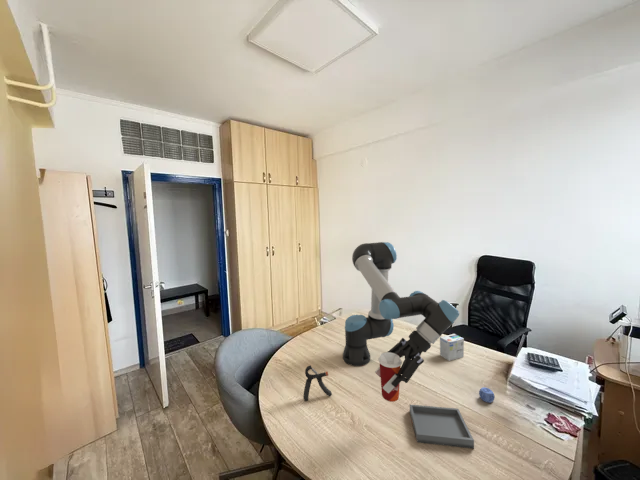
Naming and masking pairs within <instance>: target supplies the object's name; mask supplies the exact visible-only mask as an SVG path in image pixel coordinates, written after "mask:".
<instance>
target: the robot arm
mask: <svg viewBox="0 0 640 480" xmlns="http://www.w3.org/2000/svg"><path fill="white" fill-rule="evenodd" d="M397 256H398V255H397V250H396V249H395V247H394V245H393V244H392V243H391V242H386V241H378V242H370V243H369V242H368V243H362V244H359V245H357V247H355V249H354V250H353V253H352V256H351V257H352V264H353V266H354V268H355V269H356V270H357V271H358V272H360V273H361V274H362V277H363V278H364V279H365V280H366V282H367V284H368V285H369V287H370V288H371V298H370V299H371V302H370V310H369V311H368V312H367V313H368V315H367V317H366V316H365V315H363V314H353V315H349V316H348V317H347V318H346V319H345V321H344V322H345V324H344V333H345V335H344V336H345V345H344V348H343V352H342V361H343V362H345V363H346V364H347V365H349V366H354V367H363V366H366V365H367V364H369V363H370V361H371V354H370V351H369V347H368V344H367V343H368V342H367V341H368V340H372V339H374V340H375V339H378V338H385V337H389V336H391V335H392V333H393V332H394V327H395V326H394V324H395V323H394V322H393V321H394V320H398V319H401V318H402V319H403V318H408V317H416V316H420V315H421V316H423V317H424V319H423V320H422V321H421V322H420V323H419V324H418V325H417V326H416V328H415V329H414V330H413V331H412V332H410V334H409V335H408V340H407V339H405V337H402V338H401V339H400V340H399V342H397V343H396V344H395V345H394V346H392V348H390V349H389V350H388V351H387V352H391V353H395V354H397V355H398V356H399V357H400V359H401V358H402V357H404V360H403V362H402V364H401V367H400V370H399V372H398V374H395V375H394V376H393V377H392V378H391V379H390V380H389V381H388V382H387V383H386V384H385V385H384V386H383V389H384V390H385V391H386V392H387V393H390V392H391V390H392V389H393V388H394V387H396V386H397V385H398V384H399V383H402V382H404V383H405V384H408V383H409V381H410V379H411V378H412V377H413V375H414V374H415V372H416V371H417V370H418V368H419V367H420V366H421V365H422V364H423V363H424V362H425V360H424V359H423V358H422V356H421V355H422V353H426V352H428V351H429V349H430V348H432V345H434V344H435V343H436V341H438V340H439V339H440V337H442V335H443V334H444V332H446V331H447V330H448V329H449V328H450V327H451V326H452V325H453V324H454V322H455V321H456V320H457V319H458V317H459V316H460V311H459V310H458V309H457V308H456V307H455V306H453V304H451V303H450V302H449V301H447V300H444V299H442V300H441V301H439V302H437V301H436V300H435V299H433V298H432V297H430V296H429V295H428V294H426V293H425V292H422V291H420V290H415V291H412V292H411V293H410V294H409V296H404V297H403V296H401V297H400V296H399V295H398V293H397V292H396V291H395V290H394V287H392V285H391V284H390V283H389V271H390V270H391V269H392V265H393V264H394V263H396V261H397V259H398V258H397ZM431 344H432V345H431ZM374 373H375V374H376V375H377V376H378V377H379V378H381V377H380V366H379V367H378V368H377V369H376V370H375V371H374Z"/></svg>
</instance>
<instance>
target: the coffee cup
mask: <svg viewBox="0 0 640 480" xmlns="http://www.w3.org/2000/svg"><path fill="white" fill-rule="evenodd" d="M377 361H378V363H379V367H380V377H379V378H380V386H381V387H380V388H381V389H380V390H381V396H382V398H383V399H384V400H385V401H387V402H393V403H394V402H397V401H398V400H399V397H400V383H401V382H400V383H399V384H398V385H397V386H396V387H394V388H393V389H392V390H391V392H390V393H387V392H386V391H385V390H384V389H383V386H384V385H385V384H386V383H387V382H388V381H389V380H390V379H391V378H392V377H393V376H394V375H395V374H398V372H399V370H400V368H401V366H402V364H403V362H402V360H401V358H400V357H399V356H398V355H397V354H395V353H391V352H388V351H387V352H386V351H385V352H382V353H380V354H379V357H378V360H377Z"/></svg>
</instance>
